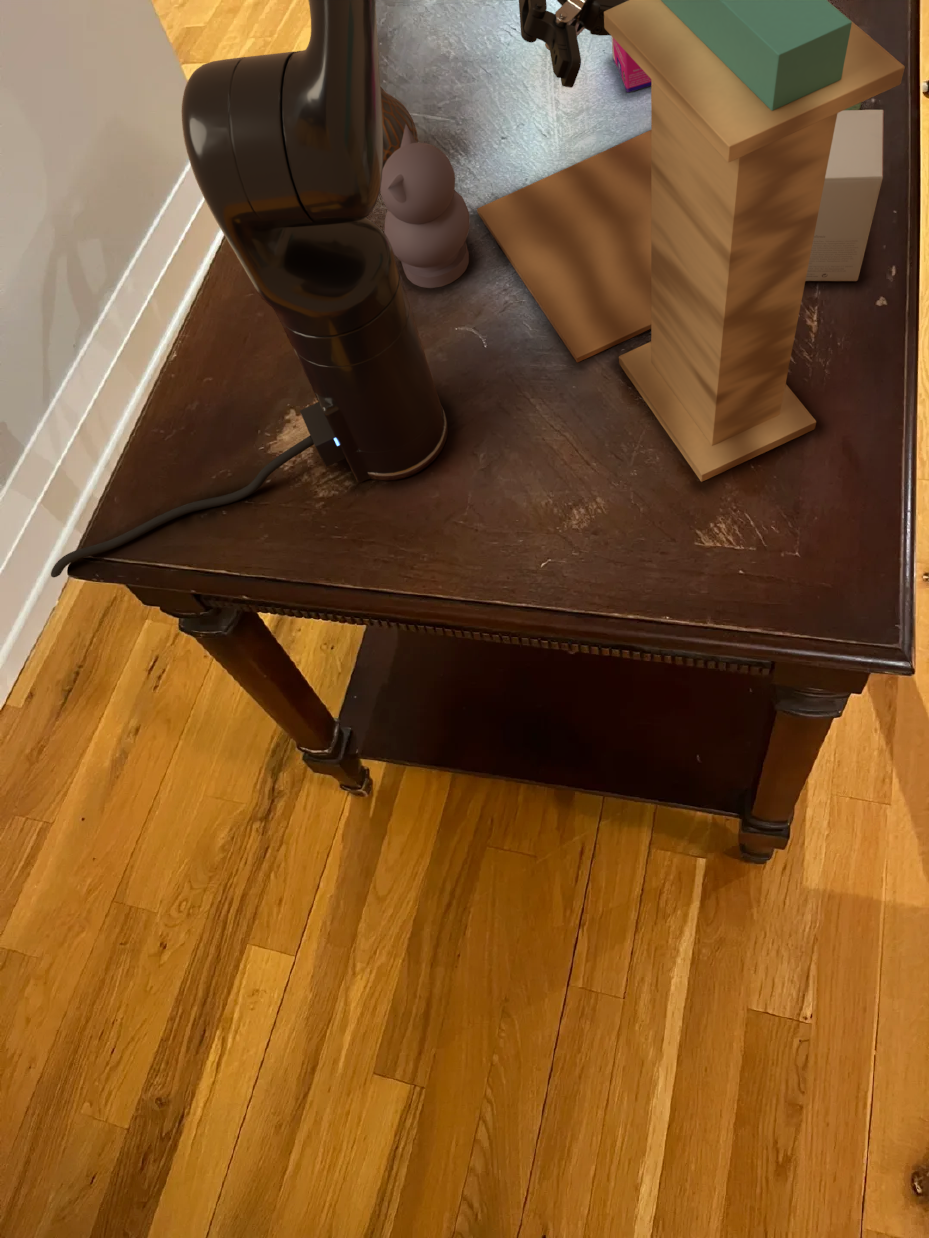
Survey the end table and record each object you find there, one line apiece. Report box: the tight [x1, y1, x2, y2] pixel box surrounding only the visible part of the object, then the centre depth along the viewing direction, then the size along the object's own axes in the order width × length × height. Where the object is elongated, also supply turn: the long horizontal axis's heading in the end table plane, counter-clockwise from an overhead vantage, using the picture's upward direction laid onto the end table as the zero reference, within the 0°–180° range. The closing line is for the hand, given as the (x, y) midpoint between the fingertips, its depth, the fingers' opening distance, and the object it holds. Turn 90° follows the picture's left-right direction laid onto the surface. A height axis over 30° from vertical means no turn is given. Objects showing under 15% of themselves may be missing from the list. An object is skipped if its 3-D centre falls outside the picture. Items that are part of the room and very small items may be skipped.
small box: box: [805, 109, 885, 282], centre depth 77 cm, size 8×6×10 cm
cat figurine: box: [380, 124, 470, 289], centre depth 84 cm, size 8×8×12 cm
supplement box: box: [610, 36, 651, 93], centre depth 91 cm, size 6×6×12 cm
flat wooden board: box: [476, 129, 651, 363], centre depth 86 cm, size 20×22×1 cm
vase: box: [380, 85, 419, 168], centre depth 93 cm, size 7×7×9 cm
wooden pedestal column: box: [604, 0, 905, 483], centre depth 64 cm, size 10×14×30 cm
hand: (626, 85), depth 68 cm, fingers open, 8 cm apart
